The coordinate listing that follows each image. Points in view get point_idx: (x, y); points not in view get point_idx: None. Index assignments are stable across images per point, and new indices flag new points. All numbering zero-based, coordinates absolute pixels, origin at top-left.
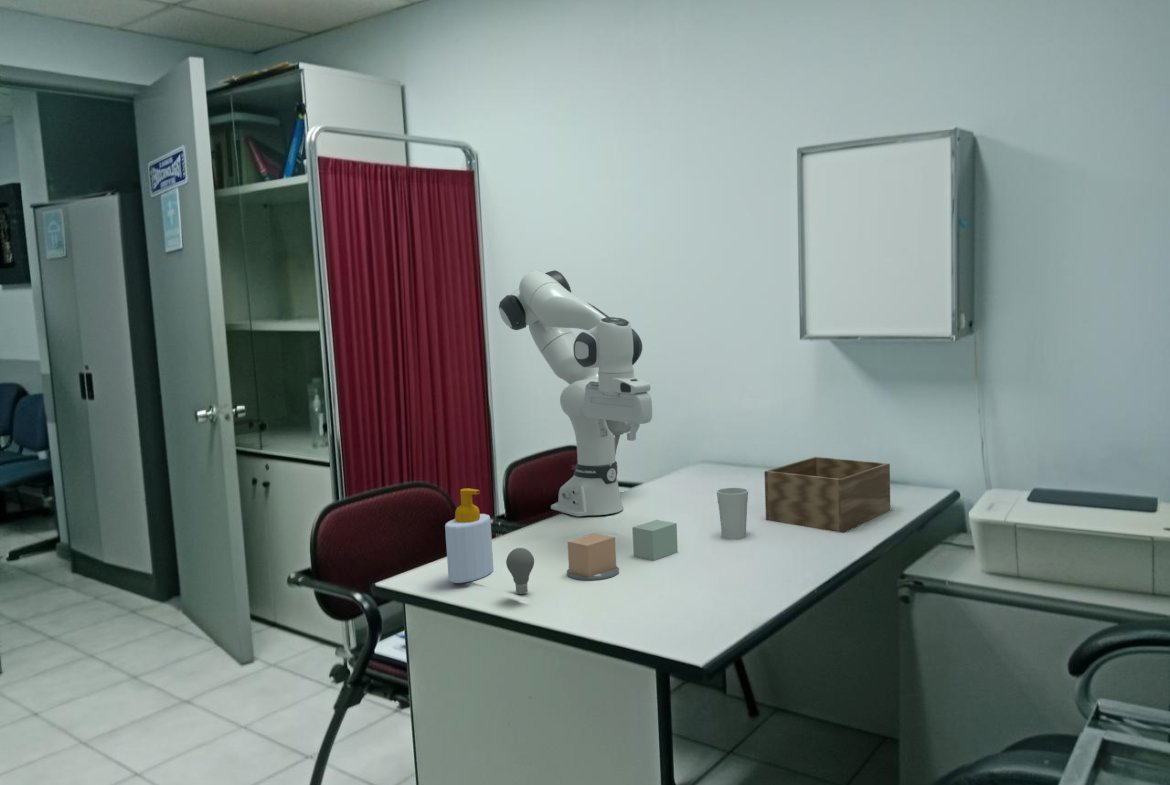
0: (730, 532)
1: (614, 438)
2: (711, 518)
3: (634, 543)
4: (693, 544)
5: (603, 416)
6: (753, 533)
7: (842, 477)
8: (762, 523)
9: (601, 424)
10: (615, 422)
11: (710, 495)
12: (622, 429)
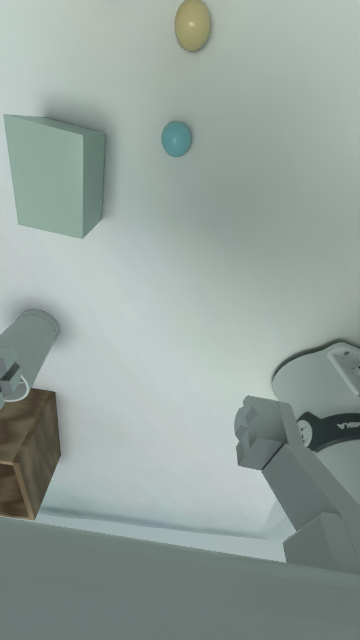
0: (25, 316)
1: None
2: (131, 391)
3: (92, 133)
4: (61, 266)
5: (246, 615)
6: None
7: (2, 486)
8: (55, 387)
9: (298, 506)
10: None
11: (192, 462)
12: None
